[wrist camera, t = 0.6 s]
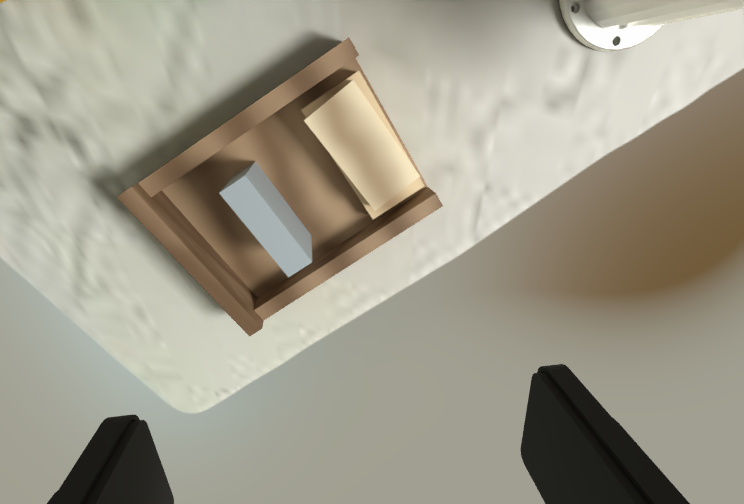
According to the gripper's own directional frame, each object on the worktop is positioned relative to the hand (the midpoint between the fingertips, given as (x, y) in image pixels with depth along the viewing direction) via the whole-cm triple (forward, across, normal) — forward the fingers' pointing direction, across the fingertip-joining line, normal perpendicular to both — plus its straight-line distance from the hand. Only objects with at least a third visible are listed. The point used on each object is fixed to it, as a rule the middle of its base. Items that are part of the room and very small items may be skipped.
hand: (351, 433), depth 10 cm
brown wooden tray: (+32, +4, +2) cm, 32 cm away
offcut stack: (+32, -4, -2) cm, 32 cm away
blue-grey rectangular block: (+31, +6, +3) cm, 32 cm away
